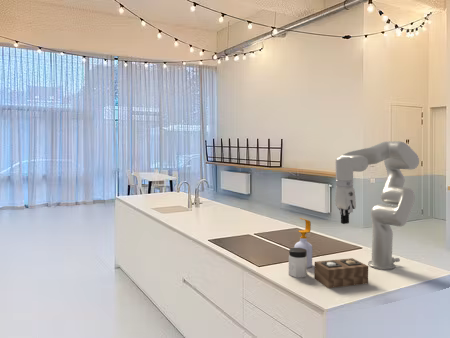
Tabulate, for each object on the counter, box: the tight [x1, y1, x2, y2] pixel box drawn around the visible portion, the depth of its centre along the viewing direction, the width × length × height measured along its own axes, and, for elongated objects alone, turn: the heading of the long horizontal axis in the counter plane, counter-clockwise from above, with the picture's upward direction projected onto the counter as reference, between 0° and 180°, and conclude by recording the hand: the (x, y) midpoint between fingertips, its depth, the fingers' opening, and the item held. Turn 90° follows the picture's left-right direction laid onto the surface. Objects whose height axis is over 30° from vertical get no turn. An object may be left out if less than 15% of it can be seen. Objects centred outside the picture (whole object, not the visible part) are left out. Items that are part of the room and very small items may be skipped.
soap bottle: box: [293, 217, 313, 269], centre depth 193 cm, size 9×9×25 cm
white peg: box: [327, 262, 336, 266], centre depth 170 cm, size 4×4×8 cm
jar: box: [288, 247, 308, 278], centre depth 180 cm, size 9×8×12 cm
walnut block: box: [313, 257, 369, 289], centre depth 171 cm, size 20×12×8 cm, turn 106°
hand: (344, 223), depth 174 cm, fingers closed
